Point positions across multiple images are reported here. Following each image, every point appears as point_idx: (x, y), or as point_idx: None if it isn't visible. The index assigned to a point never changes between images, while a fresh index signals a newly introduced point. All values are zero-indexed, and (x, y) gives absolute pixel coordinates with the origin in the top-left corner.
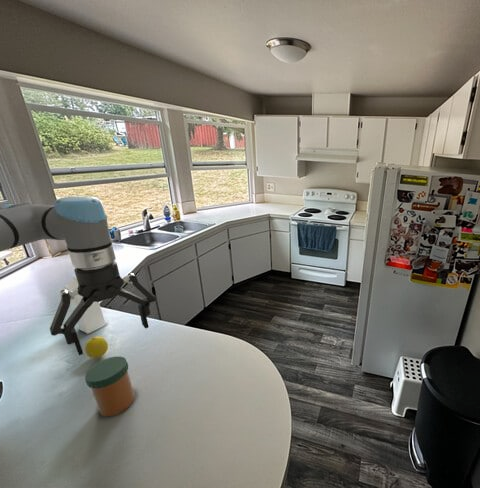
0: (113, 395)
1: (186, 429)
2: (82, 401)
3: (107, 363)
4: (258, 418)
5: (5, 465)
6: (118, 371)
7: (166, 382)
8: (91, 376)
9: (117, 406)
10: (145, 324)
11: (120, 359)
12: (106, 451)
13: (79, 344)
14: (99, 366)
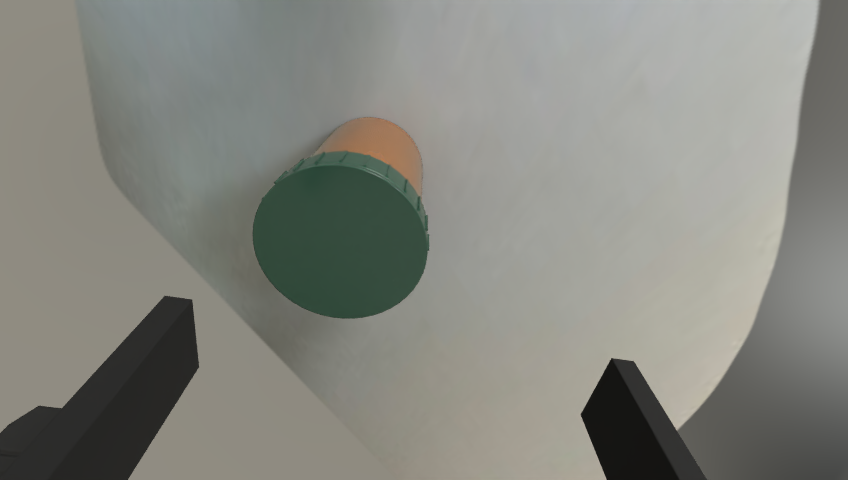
0: None
1: (434, 389)
2: (293, 37)
3: (356, 219)
4: (530, 476)
5: (93, 113)
6: (367, 312)
7: (507, 227)
8: (276, 246)
9: None
10: (600, 448)
11: (409, 242)
12: None
13: (142, 448)
14: (321, 207)
